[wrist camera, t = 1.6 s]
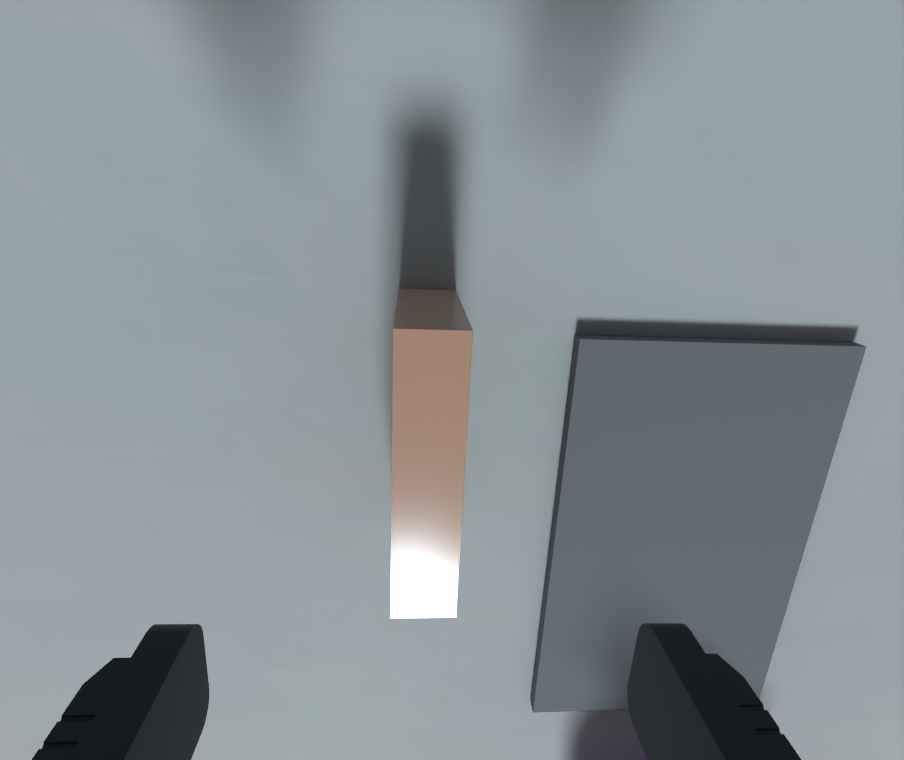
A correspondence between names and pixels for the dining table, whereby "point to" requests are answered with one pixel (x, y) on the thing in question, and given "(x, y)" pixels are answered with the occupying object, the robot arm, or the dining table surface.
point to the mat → (683, 501)
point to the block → (428, 450)
